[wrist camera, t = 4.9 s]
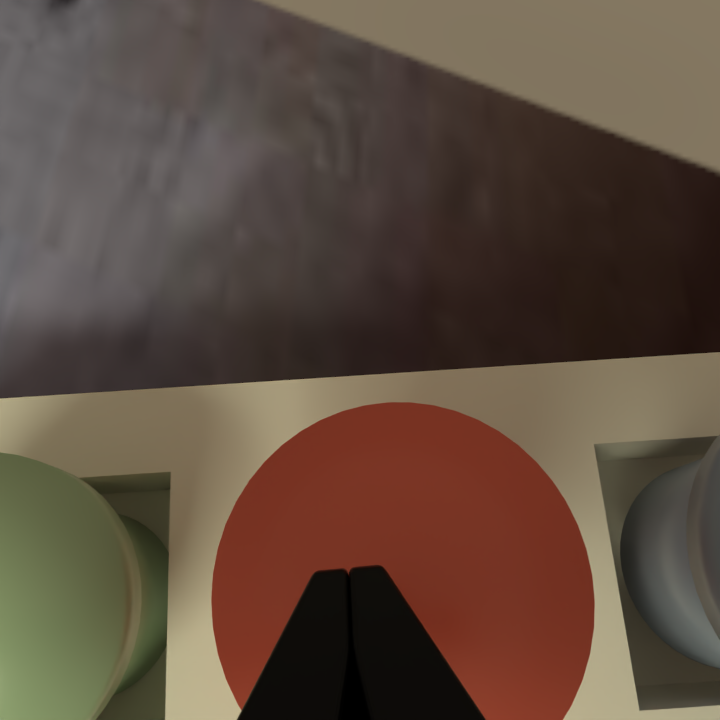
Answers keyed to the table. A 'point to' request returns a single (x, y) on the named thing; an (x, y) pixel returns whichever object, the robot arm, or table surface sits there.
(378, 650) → the robot arm
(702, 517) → the slate blue button
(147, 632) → the sage green button
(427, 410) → the red button
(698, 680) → the button console
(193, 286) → the table surface
